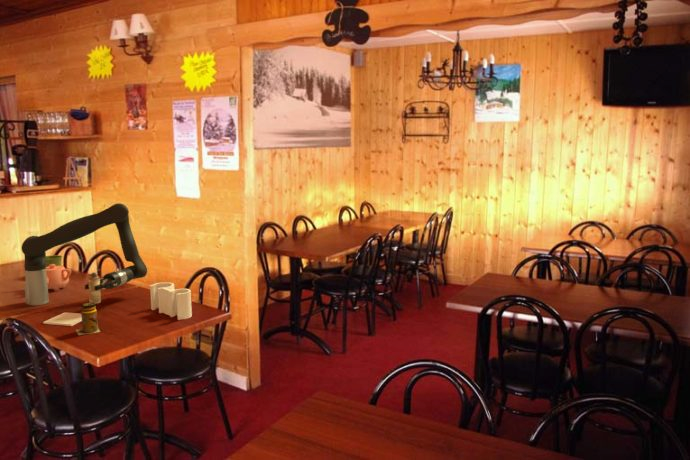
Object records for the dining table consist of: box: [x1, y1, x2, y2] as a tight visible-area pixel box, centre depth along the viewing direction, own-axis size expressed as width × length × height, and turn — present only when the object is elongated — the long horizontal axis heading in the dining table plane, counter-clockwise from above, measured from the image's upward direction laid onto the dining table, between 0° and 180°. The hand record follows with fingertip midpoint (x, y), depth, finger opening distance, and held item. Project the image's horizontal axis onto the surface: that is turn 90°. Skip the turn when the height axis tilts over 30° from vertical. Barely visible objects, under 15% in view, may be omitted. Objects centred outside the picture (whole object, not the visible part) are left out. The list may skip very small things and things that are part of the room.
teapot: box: [46, 264, 72, 292], centre depth 305 cm, size 16×17×14 cm
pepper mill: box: [87, 272, 102, 305], centre depth 263 cm, size 5×5×14 cm
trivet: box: [42, 311, 82, 327], centre depth 256 cm, size 14×14×1 cm
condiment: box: [75, 302, 101, 336], centre depth 241 cm, size 7×8×12 cm
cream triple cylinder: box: [149, 282, 193, 321], centre depth 267 cm, size 25×10×12 cm, turn 48°
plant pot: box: [46, 254, 63, 267], centre depth 332 cm, size 12×12×11 cm
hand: (90, 287), depth 260 cm, fingers closed on pepper mill, 4 cm apart
